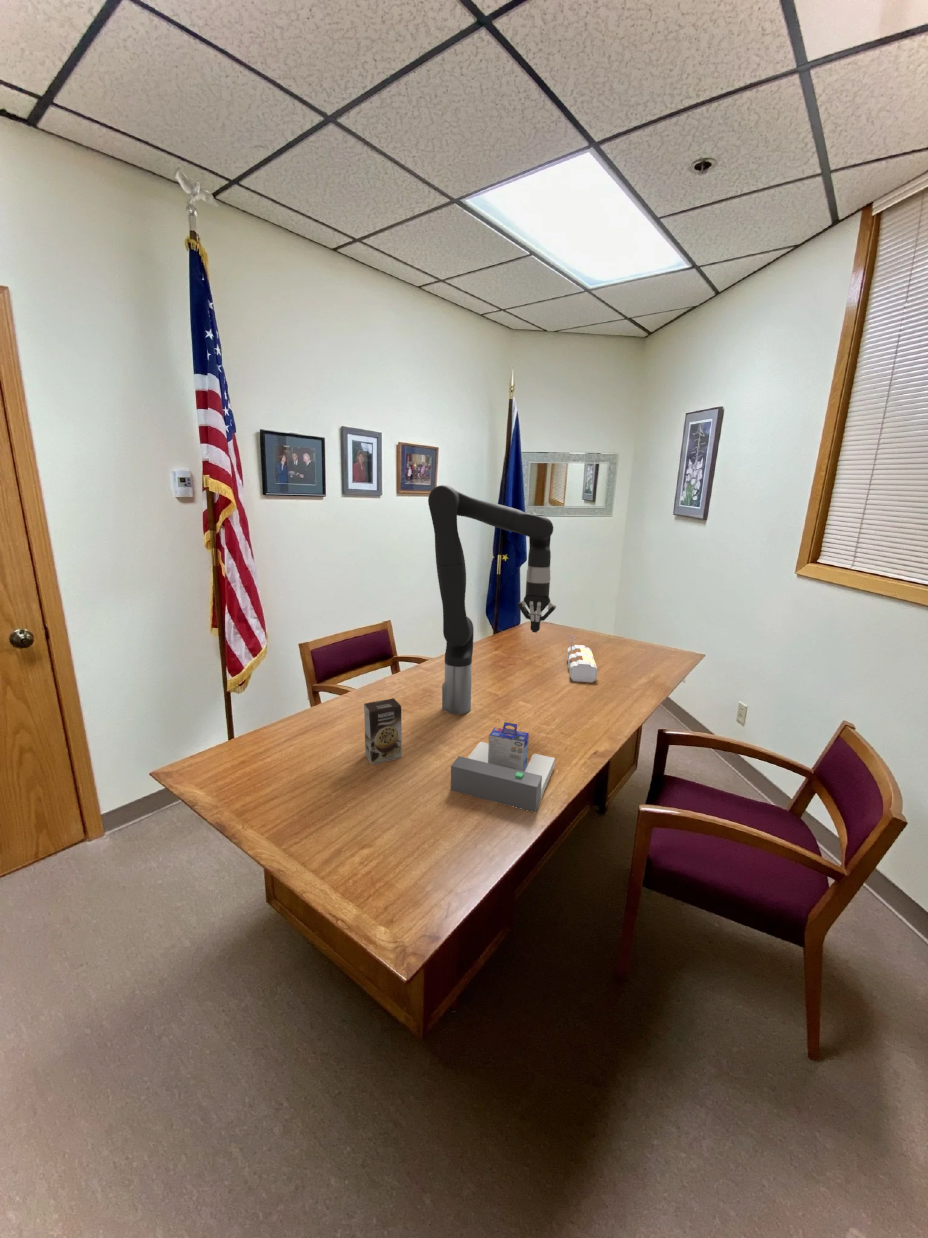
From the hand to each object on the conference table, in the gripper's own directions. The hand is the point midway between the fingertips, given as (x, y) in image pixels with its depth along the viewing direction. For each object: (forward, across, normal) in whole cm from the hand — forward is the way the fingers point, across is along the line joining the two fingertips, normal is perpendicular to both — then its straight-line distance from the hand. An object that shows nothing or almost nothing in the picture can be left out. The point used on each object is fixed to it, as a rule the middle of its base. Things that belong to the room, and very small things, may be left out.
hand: (535, 631), depth 159 cm
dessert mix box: (+29, -31, -45) cm, 62 cm away
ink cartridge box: (+29, +4, -39) cm, 49 cm away
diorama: (+30, +9, +48) cm, 57 cm away
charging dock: (+29, +4, -42) cm, 51 cm away
